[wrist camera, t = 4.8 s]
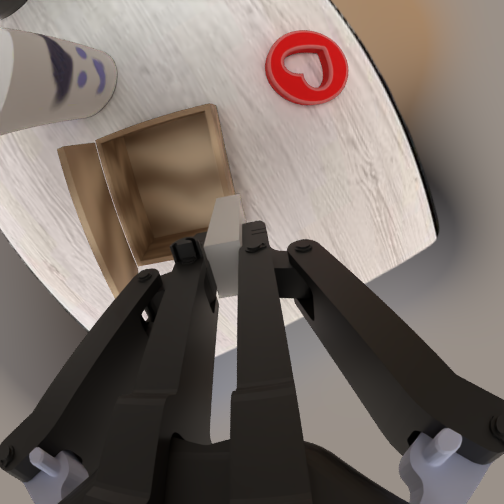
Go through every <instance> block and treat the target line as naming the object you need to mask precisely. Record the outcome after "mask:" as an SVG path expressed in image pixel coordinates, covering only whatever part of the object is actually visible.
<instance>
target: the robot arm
mask: <svg viewBox="0 0 504 504" xmlns="http://www.w3.org/2000/svg"><path fill="white" fill-rule="evenodd" d="M26 1H27V0H0V19H2V18H5V17H7V16H9V15H11V14H12V13H14V12H15V11H16V10H17V9H19V8H20V7H21V6H22V5H23V4H24V3H25V2H26ZM170 250H171V253H172V256H173V258H174V261H175V265H174V268H173V270H172V272H169V273H167V274H164V275H161V276H160V274H159V271H158V270H157V269H145V270H142V271H141V272H140V273H138V274H137V275H135V276H134V277H133V278H132V280H131V281H130V282H129V283H128V284H127V285H126V287H125V288H124V289H123V290H122V291H121V293H120V294H119V295H118V296H117V297H116V299H115V300H114V301H113V302H112V304H111V305H110V306H109V307H108V308H107V310H106V311H105V312H104V313H103V315H102V316H101V317H100V318H99V320H98V321H97V322H96V323H95V325H94V326H93V327H92V329H91V330H90V331H89V332H88V334H87V335H86V336H85V338H84V339H83V340H82V342H81V343H80V344H79V346H78V347H77V348H76V350H75V351H74V352H73V354H72V355H71V357H70V358H69V359H68V361H67V362H66V364H65V365H64V366H63V368H62V369H61V371H60V372H59V374H58V375H57V376H56V378H55V379H54V381H53V382H52V383H51V385H50V386H49V388H48V389H47V391H46V393H45V394H44V396H43V397H42V399H41V400H40V402H39V403H38V405H37V406H36V408H35V409H34V411H33V413H32V414H30V415H29V417H27V418H26V419H25V420H24V421H23V422H22V423H21V424H20V425H19V426H18V427H17V428H16V429H15V430H14V431H13V432H12V433H11V434H10V435H9V436H8V437H7V438H6V439H5V440H4V441H3V442H2V443H1V445H0V467H1V468H2V469H3V470H4V471H6V472H7V473H9V474H11V475H12V476H14V477H15V478H17V479H19V480H20V481H22V482H23V483H24V485H25V487H26V489H27V491H28V492H29V494H30V496H31V498H32V500H33V501H34V503H35V504H466V503H467V502H468V500H469V499H470V497H471V496H472V494H473V493H474V491H475V490H476V488H477V486H478V485H479V483H480V481H481V480H482V478H483V476H484V475H485V473H486V471H487V469H488V468H489V466H490V465H491V463H493V461H495V460H496V459H497V458H499V457H500V456H501V455H502V454H504V400H503V399H501V398H499V397H497V396H495V395H493V394H492V393H489V392H488V391H486V390H484V389H482V388H480V387H478V386H476V385H475V384H473V383H471V382H469V381H467V380H465V379H463V378H461V377H460V376H458V375H456V374H455V373H454V372H453V371H452V370H451V369H450V368H449V367H448V366H447V364H445V362H444V361H443V360H442V359H441V358H440V357H439V356H438V355H437V354H436V353H435V352H434V351H433V350H432V349H431V348H430V347H429V346H428V345H427V344H426V343H425V342H424V341H423V340H422V339H421V338H420V337H419V336H418V335H417V334H416V333H415V332H414V331H413V330H412V329H411V328H410V327H409V326H408V325H407V324H406V323H405V322H404V321H403V320H402V319H401V318H400V317H399V316H398V315H397V314H396V313H395V312H394V311H393V310H392V309H390V307H388V306H387V305H386V304H385V303H384V302H383V301H382V300H381V299H380V298H379V297H378V296H376V294H375V293H373V292H372V291H371V290H370V289H369V288H368V287H367V286H366V285H365V284H364V283H363V282H362V281H361V280H359V279H358V278H357V277H356V276H355V275H354V274H353V273H352V272H351V271H350V270H348V269H347V268H346V267H345V266H344V265H343V264H342V263H341V262H339V261H338V260H337V259H336V258H335V257H334V256H333V255H332V254H330V253H329V252H328V251H327V250H326V249H325V248H324V247H322V246H321V245H320V244H319V243H318V242H316V241H313V240H309V239H302V240H299V241H296V242H293V243H291V244H290V245H289V246H288V248H287V251H278V250H274V249H272V248H271V247H270V245H269V241H268V236H267V231H266V226H265V223H264V222H262V221H261V220H260V221H255V222H249V223H246V220H245V215H244V210H243V206H242V201H241V197H240V194H235V195H230V196H226V197H221V198H216V202H215V205H214V209H213V213H212V216H211V220H210V224H209V228H208V231H207V232H202V233H197V234H196V235H195V236H194V237H192V236H191V237H185V238H181V239H179V240H177V241H175V242H174V243H172V244H171V245H170ZM217 291H218V295H219V298H224V297H230V296H236V295H238V318H237V389H236V391H233V392H232V395H231V418H230V419H231V420H230V421H231V422H230V427H231V428H230V439H229V440H225V441H221V442H218V443H214V444H212V443H211V440H210V416H211V400H212V384H213V370H214V357H215V345H216V332H217V321H218V309H219V303H218V300H217V297H216V292H217ZM280 298H294V301H295V304H296V306H297V307H298V308H299V310H300V311H301V313H302V314H303V316H304V317H305V319H306V320H307V322H308V323H309V325H310V326H311V328H312V329H313V331H314V332H315V333H316V335H317V336H318V338H319V339H320V341H321V342H322V344H323V345H324V347H325V348H326V349H327V351H328V353H329V354H330V356H331V357H332V359H333V360H334V362H335V363H336V365H337V366H338V368H339V369H340V370H341V372H342V373H343V375H344V376H345V378H346V379H347V381H348V382H349V384H350V385H351V387H352V388H353V390H354V391H355V393H356V394H357V396H358V397H359V399H360V400H361V402H362V403H363V405H364V406H365V408H366V409H367V411H368V412H369V414H370V415H371V417H372V418H373V420H374V421H375V423H376V424H377V426H378V427H379V429H380V430H381V432H382V433H383V435H384V436H385V437H386V439H387V440H388V441H389V442H390V444H391V445H392V446H393V447H394V448H395V449H396V450H397V451H398V452H399V453H400V454H401V455H402V456H403V457H402V458H401V461H400V464H399V473H400V477H401V478H402V480H403V481H404V482H405V483H406V485H407V486H408V488H409V490H410V502H409V503H408V502H406V501H405V500H403V499H401V498H399V497H398V496H396V495H394V494H393V493H391V492H389V491H388V490H386V489H384V488H383V487H381V486H380V485H378V484H377V483H375V482H373V481H372V480H370V479H369V478H367V477H366V476H364V475H363V474H361V473H360V472H358V471H357V470H356V469H354V468H353V467H351V466H350V465H348V464H347V463H345V462H344V461H343V460H341V459H340V458H338V457H337V456H336V455H335V454H333V453H332V452H330V451H328V450H326V449H324V448H323V447H320V446H318V445H316V444H313V443H309V442H306V441H304V440H303V433H302V427H301V421H300V414H299V408H298V402H297V396H296V390H295V384H294V379H293V373H292V367H291V361H290V355H289V350H288V344H287V338H286V332H285V326H284V321H283V315H282V310H281V304H280ZM144 310H145V311H146V313H147V315H148V319H147V320H146V321H145V320H144V319H143V317H142V315H141V314H142V312H143V311H144Z"/></svg>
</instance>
